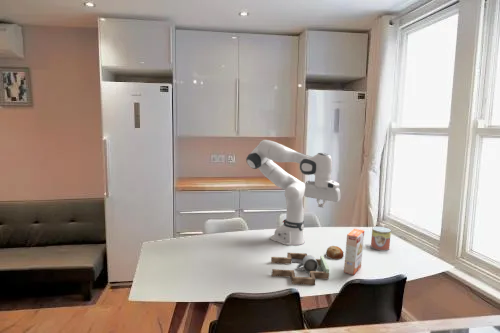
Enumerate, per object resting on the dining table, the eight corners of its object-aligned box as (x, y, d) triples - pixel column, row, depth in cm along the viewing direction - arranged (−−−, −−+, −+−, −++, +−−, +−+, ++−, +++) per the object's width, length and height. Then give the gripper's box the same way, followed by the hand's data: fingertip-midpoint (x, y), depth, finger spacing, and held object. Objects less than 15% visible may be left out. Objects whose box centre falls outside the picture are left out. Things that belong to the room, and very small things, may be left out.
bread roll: (326, 258, 214) (321, 247, 213) (341, 251, 215) (337, 240, 213) (331, 265, 204) (326, 253, 203) (347, 258, 205) (342, 246, 204)
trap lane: (272, 282, 172) (272, 276, 171) (270, 256, 204) (271, 251, 204) (331, 285, 171) (332, 279, 170) (320, 259, 204) (320, 254, 203)
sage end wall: (325, 278, 178) (326, 269, 178) (319, 264, 196) (320, 255, 196) (328, 278, 178) (329, 269, 178) (322, 264, 196) (323, 255, 195)
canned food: (370, 248, 224) (371, 230, 222) (371, 243, 234) (372, 225, 233) (389, 251, 220) (390, 233, 218) (389, 246, 230) (391, 228, 229)
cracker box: (354, 275, 183) (357, 236, 180) (343, 272, 186) (346, 234, 184) (361, 266, 195) (365, 230, 192) (351, 264, 198) (353, 227, 195)
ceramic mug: (315, 267, 192) (315, 253, 191) (318, 273, 184) (318, 259, 183) (295, 266, 192) (296, 253, 191) (297, 273, 184) (298, 259, 183)
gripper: (303, 180, 199) (301, 205, 200) (338, 185, 187) (336, 211, 189) (308, 179, 204) (306, 203, 205) (342, 184, 192) (340, 209, 194)
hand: (321, 207), depth 197 cm, fingers closed
